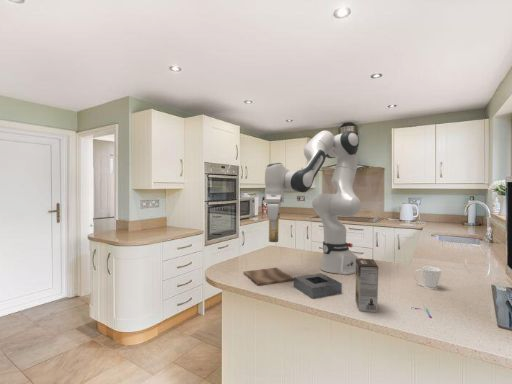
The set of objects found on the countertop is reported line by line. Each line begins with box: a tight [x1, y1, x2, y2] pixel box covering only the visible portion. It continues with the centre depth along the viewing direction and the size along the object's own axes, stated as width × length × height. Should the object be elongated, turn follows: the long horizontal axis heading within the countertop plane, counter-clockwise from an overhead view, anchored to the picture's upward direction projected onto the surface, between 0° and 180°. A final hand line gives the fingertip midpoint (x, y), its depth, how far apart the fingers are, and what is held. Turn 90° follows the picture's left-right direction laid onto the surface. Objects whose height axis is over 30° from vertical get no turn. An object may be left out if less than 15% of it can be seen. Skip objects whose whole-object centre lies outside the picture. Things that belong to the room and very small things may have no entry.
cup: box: [413, 266, 442, 290], centre depth 120 cm, size 7×10×8 cm
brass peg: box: [268, 212, 281, 243], centre depth 129 cm, size 6×6×13 cm
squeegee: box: [411, 307, 433, 319], centre depth 99 cm, size 15×1×5 cm
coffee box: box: [354, 258, 379, 313], centre depth 100 cm, size 9×6×16 cm
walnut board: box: [243, 267, 294, 287], centre depth 131 cm, size 18×18×1 cm
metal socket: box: [293, 272, 343, 299], centre depth 116 cm, size 14×14×4 cm
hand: (273, 228), depth 129 cm, fingers closed on brass peg, 5 cm apart
